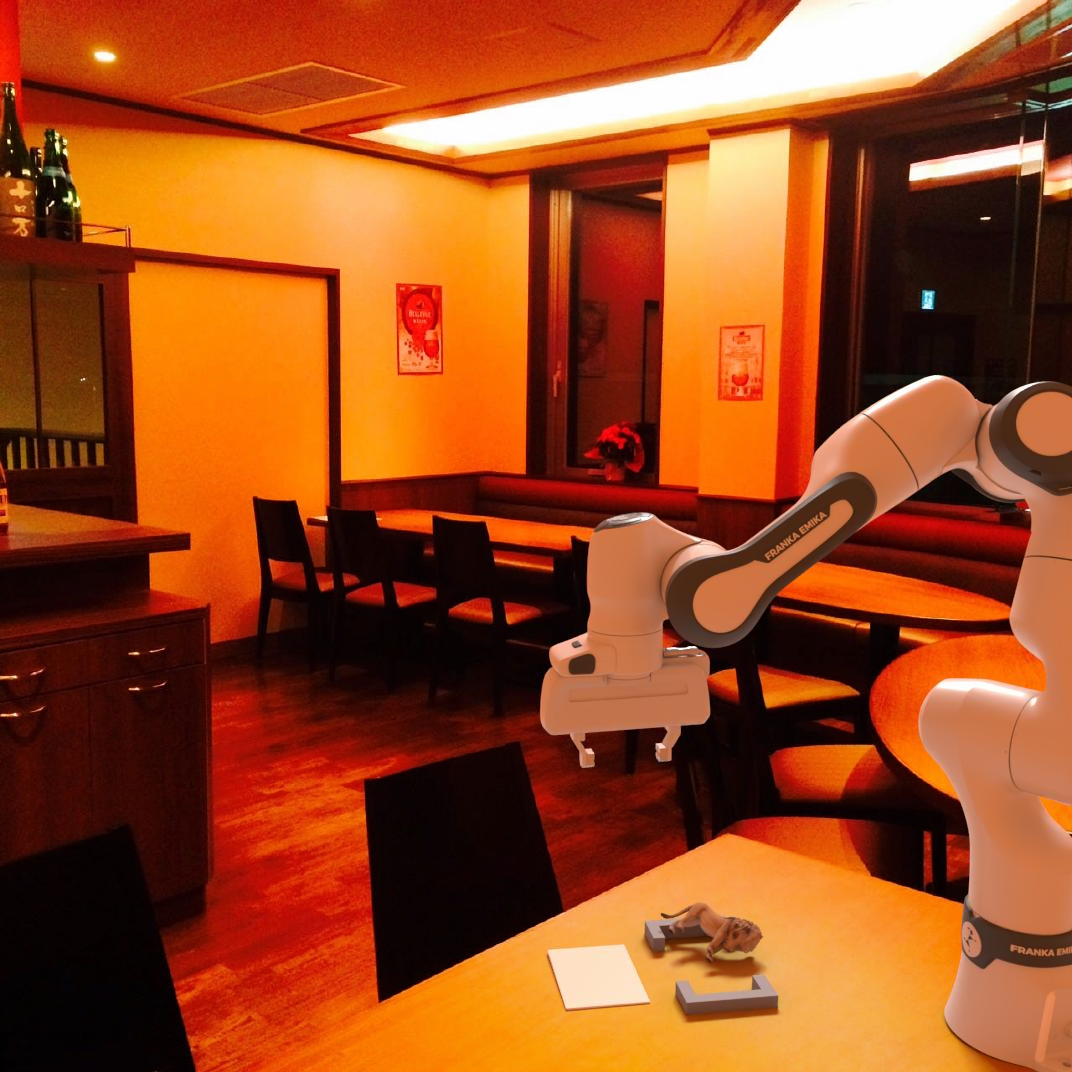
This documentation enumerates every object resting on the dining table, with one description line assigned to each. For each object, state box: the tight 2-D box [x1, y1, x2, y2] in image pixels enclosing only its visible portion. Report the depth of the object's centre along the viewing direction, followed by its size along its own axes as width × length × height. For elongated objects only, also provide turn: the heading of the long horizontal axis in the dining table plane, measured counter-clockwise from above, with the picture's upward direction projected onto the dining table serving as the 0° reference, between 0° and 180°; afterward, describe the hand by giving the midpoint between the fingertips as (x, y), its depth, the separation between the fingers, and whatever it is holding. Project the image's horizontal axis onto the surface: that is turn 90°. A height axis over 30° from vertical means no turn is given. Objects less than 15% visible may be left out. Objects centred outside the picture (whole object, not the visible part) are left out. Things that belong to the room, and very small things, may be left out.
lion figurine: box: [660, 902, 764, 963], centre depth 137 cm, size 12×4×7 cm
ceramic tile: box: [547, 944, 651, 1011], centre depth 131 cm, size 10×13×1 cm
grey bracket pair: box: [644, 915, 779, 1016], centre depth 133 cm, size 11×19×2 cm, turn 9°
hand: (625, 762), depth 128 cm, fingers open, 8 cm apart
